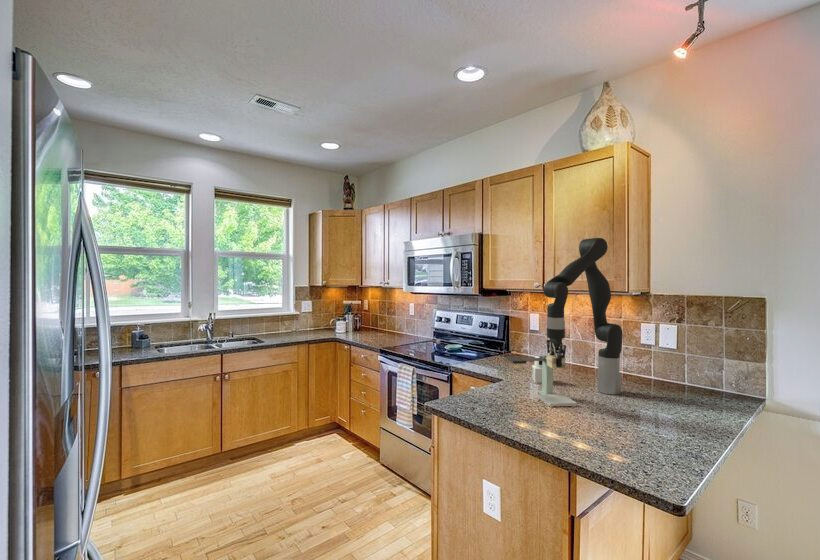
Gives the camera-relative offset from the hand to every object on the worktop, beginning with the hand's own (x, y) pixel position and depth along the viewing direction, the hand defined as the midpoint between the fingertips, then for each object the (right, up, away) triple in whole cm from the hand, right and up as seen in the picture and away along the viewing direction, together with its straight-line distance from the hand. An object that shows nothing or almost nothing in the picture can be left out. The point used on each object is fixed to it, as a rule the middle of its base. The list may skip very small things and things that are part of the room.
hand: (555, 365), depth 172 cm
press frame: (0, -16, +4) cm, 17 cm away
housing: (0, -1, 0) cm, 1 cm away
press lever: (-9, 0, +9) cm, 13 cm away
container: (+4, -16, +33) cm, 37 cm away
